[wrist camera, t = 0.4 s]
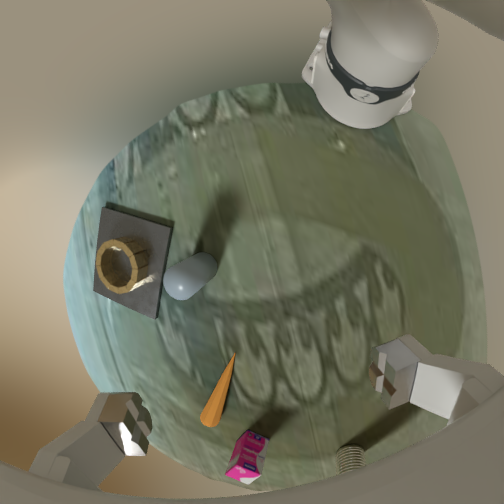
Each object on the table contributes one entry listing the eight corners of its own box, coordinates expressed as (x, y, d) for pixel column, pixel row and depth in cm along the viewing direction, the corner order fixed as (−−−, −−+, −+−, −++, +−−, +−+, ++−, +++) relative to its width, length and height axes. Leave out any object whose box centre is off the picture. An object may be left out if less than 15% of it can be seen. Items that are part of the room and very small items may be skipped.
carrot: (216, 417, 55) (219, 431, 51) (197, 414, 54) (199, 428, 50) (244, 347, 53) (249, 360, 48) (222, 343, 51) (225, 355, 47)
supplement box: (270, 438, 53) (262, 475, 42) (257, 449, 55) (248, 485, 43) (248, 428, 53) (236, 465, 42) (236, 440, 55) (223, 475, 44)
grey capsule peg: (193, 248, 48) (166, 260, 38) (220, 257, 47) (198, 272, 37) (187, 275, 49) (160, 293, 39) (213, 284, 48) (191, 305, 39)
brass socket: (110, 231, 49) (99, 233, 46) (151, 245, 48) (141, 249, 45) (105, 278, 52) (94, 282, 48) (143, 295, 50) (134, 301, 47)
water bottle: (346, 440, 50) (350, 531, 26) (369, 446, 49) (379, 531, 25) (329, 456, 52) (327, 541, 27) (352, 461, 51) (356, 543, 27)
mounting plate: (105, 206, 50) (102, 207, 49) (173, 227, 48) (170, 228, 47) (96, 289, 54) (93, 290, 53) (157, 317, 52) (155, 319, 51)
